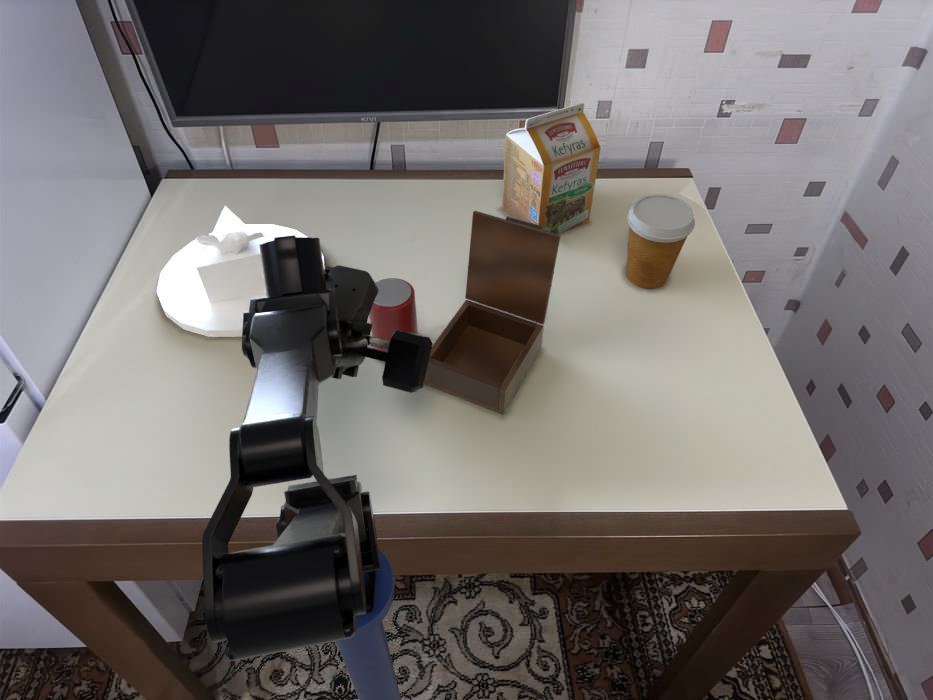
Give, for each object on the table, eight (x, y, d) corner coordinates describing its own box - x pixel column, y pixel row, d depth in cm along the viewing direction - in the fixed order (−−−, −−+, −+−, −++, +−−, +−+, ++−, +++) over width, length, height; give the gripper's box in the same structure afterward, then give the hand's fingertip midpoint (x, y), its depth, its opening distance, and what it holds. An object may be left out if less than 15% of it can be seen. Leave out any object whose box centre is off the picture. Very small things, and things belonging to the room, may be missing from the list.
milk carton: (536, 242, 110) (546, 135, 96) (502, 209, 116) (507, 104, 102) (588, 222, 113) (605, 117, 100) (552, 191, 120) (563, 88, 106)
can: (418, 363, 92) (413, 308, 84) (372, 364, 92) (364, 309, 84) (419, 330, 96) (415, 275, 88) (375, 331, 96) (367, 276, 88)
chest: (503, 414, 86) (505, 390, 82) (423, 384, 89) (422, 359, 86) (541, 350, 93) (543, 325, 90) (466, 323, 97) (466, 299, 93)
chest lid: (559, 237, 81) (570, 222, 85) (472, 212, 85) (487, 199, 88) (543, 324, 89) (554, 308, 93) (465, 298, 93) (478, 284, 96)
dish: (342, 312, 99) (330, 251, 90) (163, 355, 93) (134, 294, 85) (309, 218, 114) (297, 159, 106) (155, 249, 109) (130, 189, 100)
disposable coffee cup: (691, 280, 103) (711, 216, 94) (646, 305, 100) (663, 240, 91) (646, 248, 109) (662, 184, 100) (602, 270, 105) (614, 206, 96)
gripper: (421, 286, 65) (459, 298, 80) (252, 249, 69) (318, 267, 84) (397, 398, 66) (439, 389, 81) (230, 354, 70) (300, 353, 85)
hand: (373, 346), depth 83 cm, fingers open, 9 cm apart
